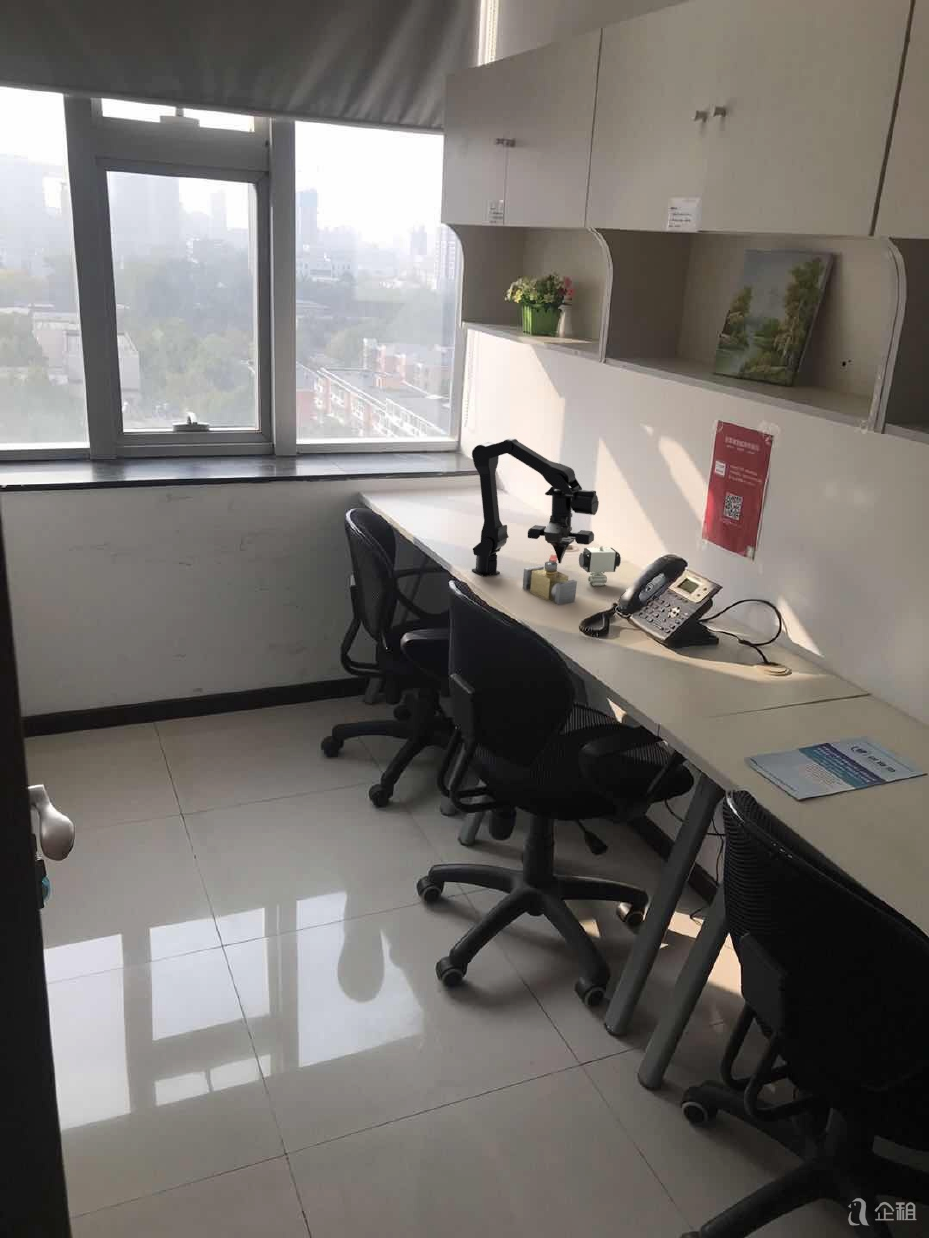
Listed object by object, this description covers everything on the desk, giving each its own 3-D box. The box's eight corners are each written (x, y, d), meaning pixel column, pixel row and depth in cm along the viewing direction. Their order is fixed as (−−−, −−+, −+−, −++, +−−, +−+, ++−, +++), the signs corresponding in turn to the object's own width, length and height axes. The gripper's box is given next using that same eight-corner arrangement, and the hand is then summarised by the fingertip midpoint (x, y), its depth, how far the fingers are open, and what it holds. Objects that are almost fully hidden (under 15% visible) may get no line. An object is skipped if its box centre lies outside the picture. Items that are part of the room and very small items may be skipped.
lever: (556, 572, 280) (556, 565, 279) (543, 571, 280) (544, 564, 280) (559, 560, 291) (560, 554, 290) (547, 559, 292) (548, 552, 291)
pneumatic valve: (617, 586, 295) (622, 548, 291) (581, 587, 293) (585, 549, 288) (611, 580, 300) (615, 543, 296) (575, 581, 298) (579, 543, 293)
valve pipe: (521, 588, 288) (523, 564, 286) (539, 585, 292) (541, 561, 290) (557, 605, 276) (559, 580, 274) (575, 601, 280) (578, 577, 278)
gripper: (521, 514, 280) (520, 566, 285) (583, 520, 273) (581, 574, 278) (534, 506, 289) (533, 557, 295) (595, 512, 282) (593, 564, 287)
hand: (559, 563), depth 288 cm, fingers closed
